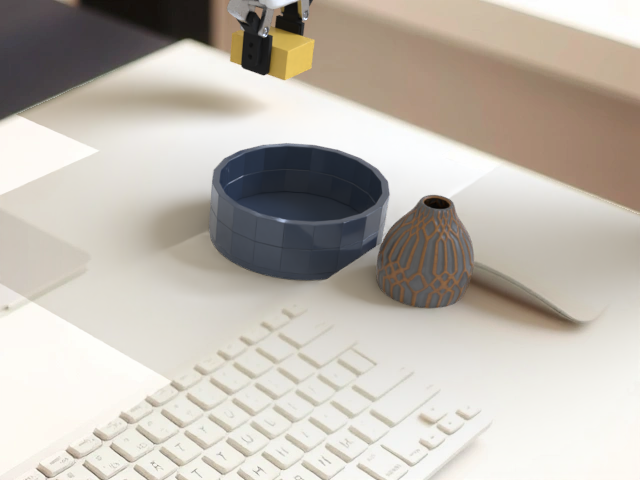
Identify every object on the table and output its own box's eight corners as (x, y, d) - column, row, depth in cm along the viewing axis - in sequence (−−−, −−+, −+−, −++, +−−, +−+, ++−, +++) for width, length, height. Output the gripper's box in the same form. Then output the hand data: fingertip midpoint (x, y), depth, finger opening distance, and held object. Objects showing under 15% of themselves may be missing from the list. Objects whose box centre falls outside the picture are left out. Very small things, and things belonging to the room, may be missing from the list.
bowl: (277, 179, 99) (282, 128, 96) (412, 234, 91) (422, 180, 88) (174, 235, 90) (176, 181, 87) (313, 301, 82) (321, 244, 79)
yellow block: (256, 50, 113) (259, 22, 111) (311, 68, 109) (315, 39, 108) (229, 61, 110) (231, 32, 109) (284, 80, 107) (287, 51, 105)
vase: (426, 341, 78) (448, 236, 73) (352, 301, 82) (368, 199, 77) (481, 307, 82) (506, 204, 77) (407, 270, 86) (426, 171, 81)
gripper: (265, -104, 92) (248, 98, 103) (375, -135, 102) (348, 52, 113) (198, -120, 96) (188, 76, 107) (310, -148, 106) (290, 34, 117)
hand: (270, 62), depth 110 cm, fingers closed on yellow block, 4 cm apart
